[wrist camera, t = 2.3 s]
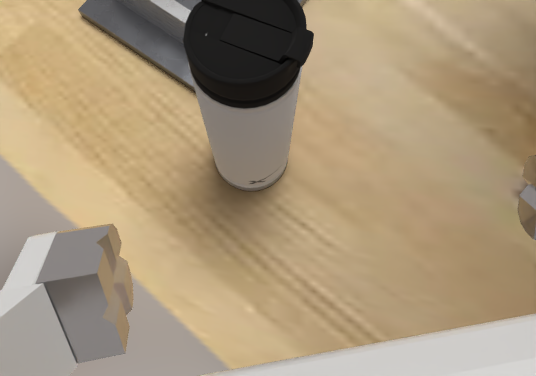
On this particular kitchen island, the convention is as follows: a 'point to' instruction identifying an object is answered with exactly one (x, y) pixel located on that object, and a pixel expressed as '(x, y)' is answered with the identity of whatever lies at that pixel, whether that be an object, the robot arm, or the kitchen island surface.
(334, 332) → the kitchen island surface
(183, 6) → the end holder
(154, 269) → the kitchen island surface
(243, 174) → the travel mug
